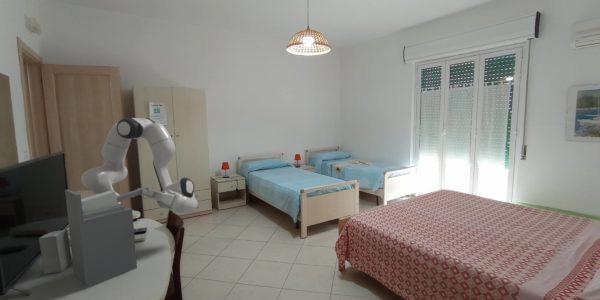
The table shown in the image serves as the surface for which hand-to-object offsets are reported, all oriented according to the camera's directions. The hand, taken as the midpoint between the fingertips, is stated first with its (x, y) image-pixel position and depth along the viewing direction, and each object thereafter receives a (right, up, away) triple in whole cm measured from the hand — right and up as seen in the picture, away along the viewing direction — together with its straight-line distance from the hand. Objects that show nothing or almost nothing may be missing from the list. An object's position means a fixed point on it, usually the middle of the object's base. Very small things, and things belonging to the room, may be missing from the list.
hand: (140, 190), depth 126 cm
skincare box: (-32, -33, -5) cm, 46 cm away
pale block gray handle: (-5, -5, -7) cm, 10 cm away
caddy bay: (-9, -33, -9) cm, 35 cm away
